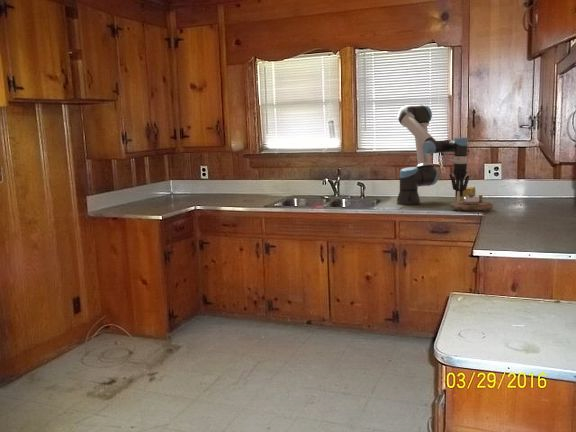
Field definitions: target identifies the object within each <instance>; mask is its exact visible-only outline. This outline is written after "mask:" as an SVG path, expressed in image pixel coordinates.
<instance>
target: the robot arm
mask: <svg viewBox="0 0 576 432" xmlns="http://www.w3.org/2000/svg"><path fill="white" fill-rule="evenodd" d="M432 118H433V113H432V109H431V108H430V106H428V105H426V104H412V105H411V104H407V105H404V106H402V107H401V108H399V111H398V114H397V119H398V122H399V124H401V126H402V127H403V128H406V129H407V130H408V131H409V132H410V133H411V135H413V136H414V141H415V148H416V159H417V164H416V166H410V167H409V166H408V167H403V168H402V169H400V170H399V192H398V195H397V199H396V204H398V205H402V206H403V205H404V206H405V205H406V206H407V205H409V206H412V205H414V206H415V205H419V204H421V199H420V195H419V191H418V190H419V189H418V187H429V186H434V185H436V183H437V182H438V181H439V177H440V173H439V170H438V169H437V168H436V167H435V165H434V163H432V159H431V155H432V154H442V153H443V154H445V153H452V154H454V155H453V156H454V157H453V160H454V161H453V162H454V163H453V172H452V173H450V174H449V177H450V179H451V187H452V190H454V191H455V190H456V196H457V202H461V197H462V196H463V191H464V190H466V188H467V187H468V184H469V180H470V178H471V175H470V174H468V171H467V168H468V163H467V162H468V149H469V148H468V147H469V143H468V141H469V140H468V138H467V137H466V136H465V137H464V136H463V137H462V136H461V137H459V136H457V137H455V138H454V139H453V140H452V139H444V140H436V139H435V138H434V137H433V136H432V135H431V134H430V133H429V132H428V127H429V125H430V122H431V121H432ZM459 187H460V189H459Z"/></svg>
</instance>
